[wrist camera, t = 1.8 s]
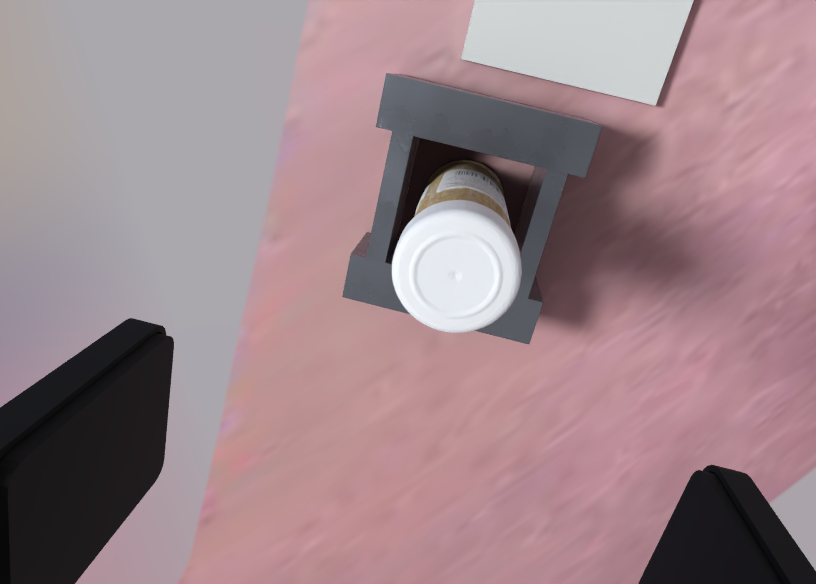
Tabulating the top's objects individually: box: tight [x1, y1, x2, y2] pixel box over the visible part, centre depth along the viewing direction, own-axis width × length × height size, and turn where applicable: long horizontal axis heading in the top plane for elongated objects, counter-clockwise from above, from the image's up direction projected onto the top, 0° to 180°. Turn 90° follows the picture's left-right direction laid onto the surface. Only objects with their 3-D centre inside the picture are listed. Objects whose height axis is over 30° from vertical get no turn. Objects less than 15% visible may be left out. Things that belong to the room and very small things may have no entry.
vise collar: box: [342, 73, 602, 344], centre depth 30 cm, size 10×11×4 cm
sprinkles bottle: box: [392, 160, 522, 333], centre depth 26 cm, size 5×5×13 cm
